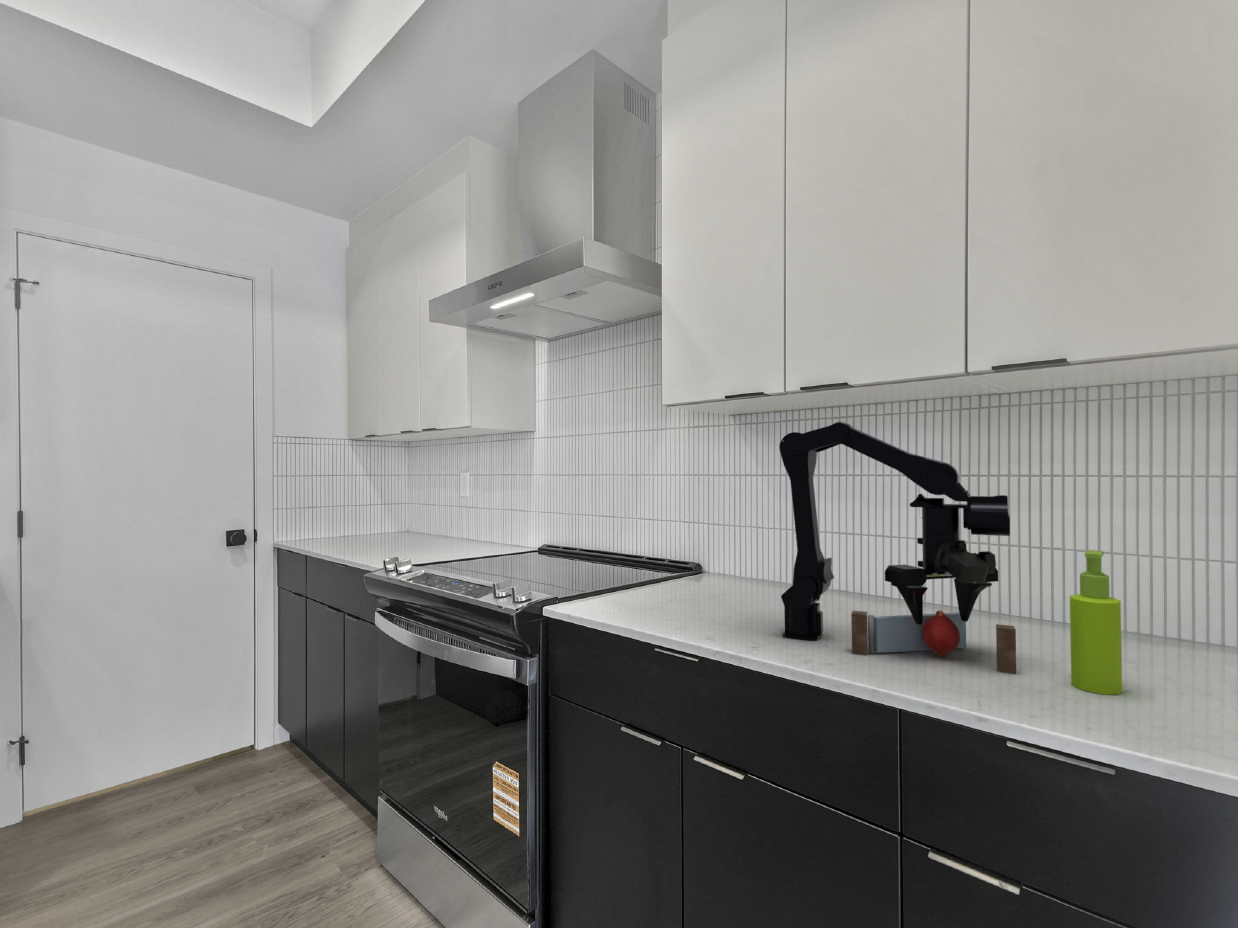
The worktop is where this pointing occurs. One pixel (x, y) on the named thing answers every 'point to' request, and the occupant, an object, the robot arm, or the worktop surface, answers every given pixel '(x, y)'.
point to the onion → (941, 634)
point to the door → (904, 633)
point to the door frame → (1003, 642)
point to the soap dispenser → (1095, 632)
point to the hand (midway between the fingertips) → (941, 622)
